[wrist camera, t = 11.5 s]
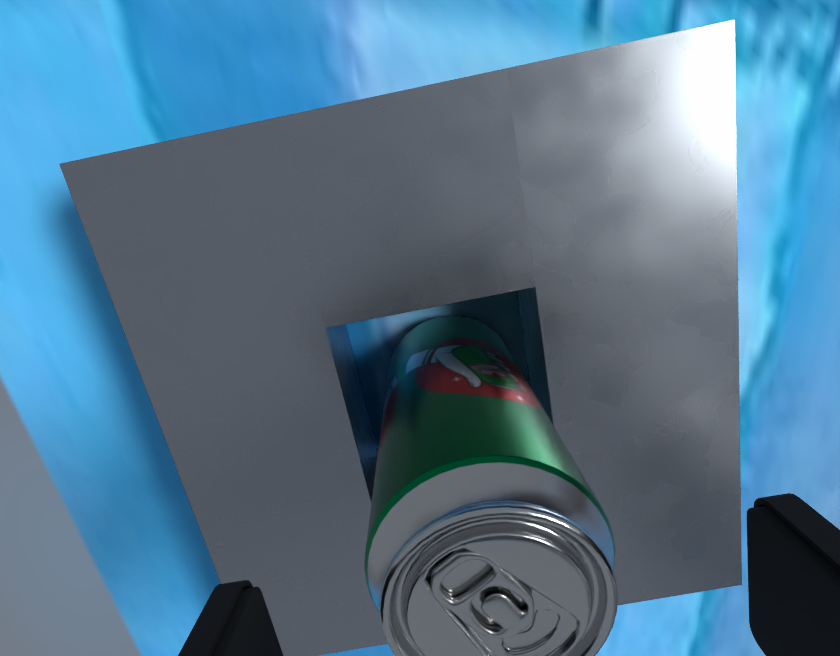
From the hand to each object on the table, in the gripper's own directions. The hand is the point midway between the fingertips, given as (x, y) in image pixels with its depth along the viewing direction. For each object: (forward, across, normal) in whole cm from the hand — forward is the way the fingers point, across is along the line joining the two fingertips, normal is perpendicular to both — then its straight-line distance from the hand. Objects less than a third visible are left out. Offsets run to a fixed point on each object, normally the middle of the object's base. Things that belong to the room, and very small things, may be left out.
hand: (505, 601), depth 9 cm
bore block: (+12, +1, -1) cm, 12 cm away
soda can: (+12, 0, 0) cm, 12 cm away
